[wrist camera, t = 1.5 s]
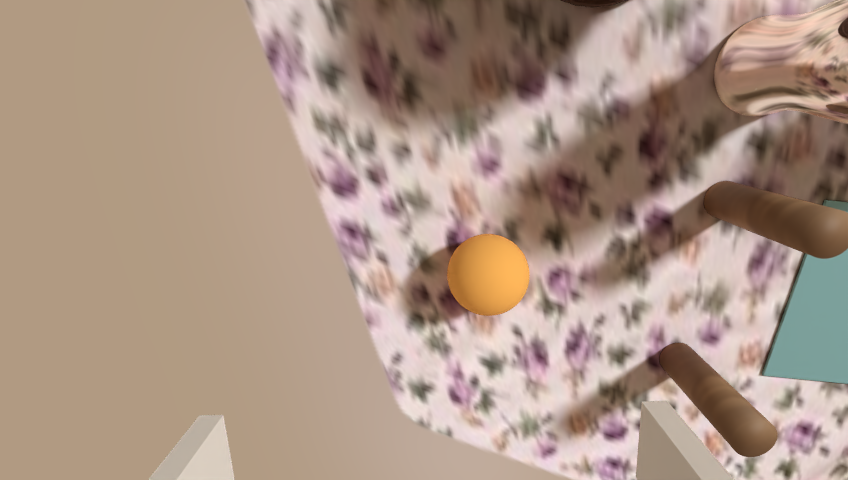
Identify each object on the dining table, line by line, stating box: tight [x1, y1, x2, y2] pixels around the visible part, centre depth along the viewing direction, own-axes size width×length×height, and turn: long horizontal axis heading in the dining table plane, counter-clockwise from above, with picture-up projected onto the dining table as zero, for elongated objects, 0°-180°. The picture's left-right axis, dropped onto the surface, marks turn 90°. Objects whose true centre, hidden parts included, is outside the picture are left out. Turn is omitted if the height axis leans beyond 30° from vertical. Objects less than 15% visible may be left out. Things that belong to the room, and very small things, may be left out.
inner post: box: [704, 181, 848, 259], centre depth 28 cm, size 3×3×9 cm
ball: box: [447, 234, 529, 316], centre depth 31 cm, size 6×6×6 cm
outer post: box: [659, 343, 777, 457], centre depth 31 cm, size 3×3×9 cm
